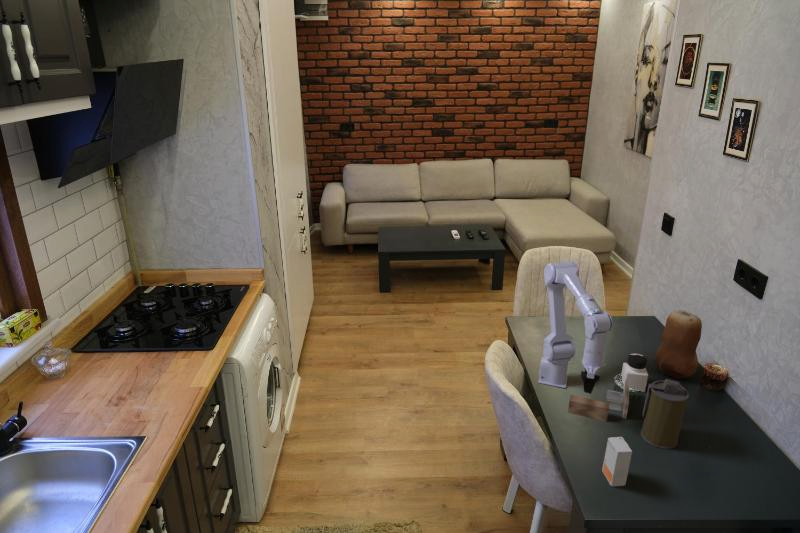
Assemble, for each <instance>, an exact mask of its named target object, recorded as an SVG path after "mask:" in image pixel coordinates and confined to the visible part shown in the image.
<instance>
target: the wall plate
mask: <svg viewBox="0 0 800 533" xmlns="http://www.w3.org/2000/svg"><path fill="white" fill-rule="evenodd" d="M622 391H623V392H622V393H624V407H623V412H622V419H625V420H626V419H627V416H628V415H627V414H628V411H629V407H630V406H629V404H630V391H629V380H625V385H624V389H623V390H622Z"/></svg>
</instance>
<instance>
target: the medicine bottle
mask: <svg viewBox="0 0 800 533" xmlns="http://www.w3.org/2000/svg"><path fill="white" fill-rule="evenodd" d="M647 363H648V358H647V357H646V356H644V355H643V354H640V353H631V354H628V357H627V362H623V364H622V370H621V374H620V377H621V376H622V380H623V384H624V385H625V380H629V388H632V389H636V390H639V391H641V392H640V393H645V392H646V389H647V386H648V385H647V384H648V380H649V373H648V371H647Z"/></svg>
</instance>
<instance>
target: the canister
mask: <svg viewBox="0 0 800 533" xmlns="http://www.w3.org/2000/svg"><path fill="white" fill-rule="evenodd" d="M689 397H690V393H689V391H688V390H687V388H685V387H684V386H682V385H681V382H680V381H676V380H672V379H667V378H666V379H664V380H663V379H662V380H661V379H660V380H654V381H653V382H651V383H648V385H647V391H646V396H645V401H644V406H643V410H642V417H643V424H642V428H641V430H640V436H641V438H642V439H643V440H644V441H645V442H646V443H648V444H649V445H651V446H652V447H655V448H658V449H662V450H667V449H668V450H670V449H674V448H675V447H677V445H678V444H679V443H678V442H679V440H678V439H679V436H680V431H681V428H682V422H683V419H684V416H685V411H686V407H687V404H688V403H687V402H688V399H689Z"/></svg>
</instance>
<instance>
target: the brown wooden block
mask: <svg viewBox="0 0 800 533" xmlns="http://www.w3.org/2000/svg"><path fill="white" fill-rule="evenodd" d="M606 402H607V401H606ZM606 402H605V401H601V400H596V399H591V398H586V397H583V396H580V395H579V396H578V395H574V394H570V397H569V403H568V409H567V413H568V414H572V415H577V416H580V417H585V418H589V419H594V420H598V421H602V422H607V421H608V414H609V412H610V409H609V403H606Z"/></svg>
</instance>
